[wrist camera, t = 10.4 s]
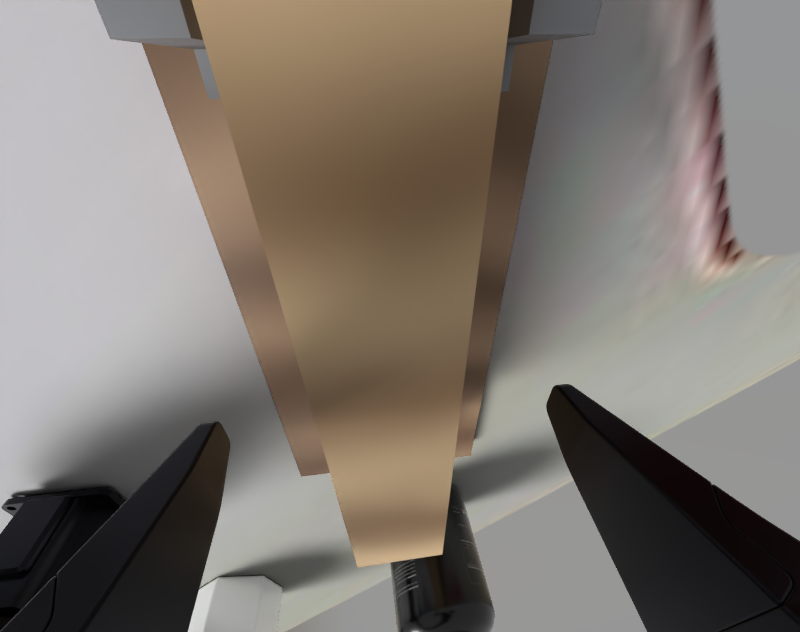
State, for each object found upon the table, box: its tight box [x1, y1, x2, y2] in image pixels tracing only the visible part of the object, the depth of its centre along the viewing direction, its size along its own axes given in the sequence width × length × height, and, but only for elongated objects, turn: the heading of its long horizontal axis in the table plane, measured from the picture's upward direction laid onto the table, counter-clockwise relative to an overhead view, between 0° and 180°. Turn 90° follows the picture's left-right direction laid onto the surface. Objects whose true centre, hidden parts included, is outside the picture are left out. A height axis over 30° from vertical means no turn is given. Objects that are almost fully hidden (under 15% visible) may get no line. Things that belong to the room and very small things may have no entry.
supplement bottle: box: [390, 485, 495, 632], centre depth 25 cm, size 7×7×12 cm
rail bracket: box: [94, 0, 602, 476], centre depth 13 cm, size 30×12×6 cm, turn 1°
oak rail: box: [192, 0, 512, 567], centre depth 11 cm, size 22×4×5 cm, turn 2°
